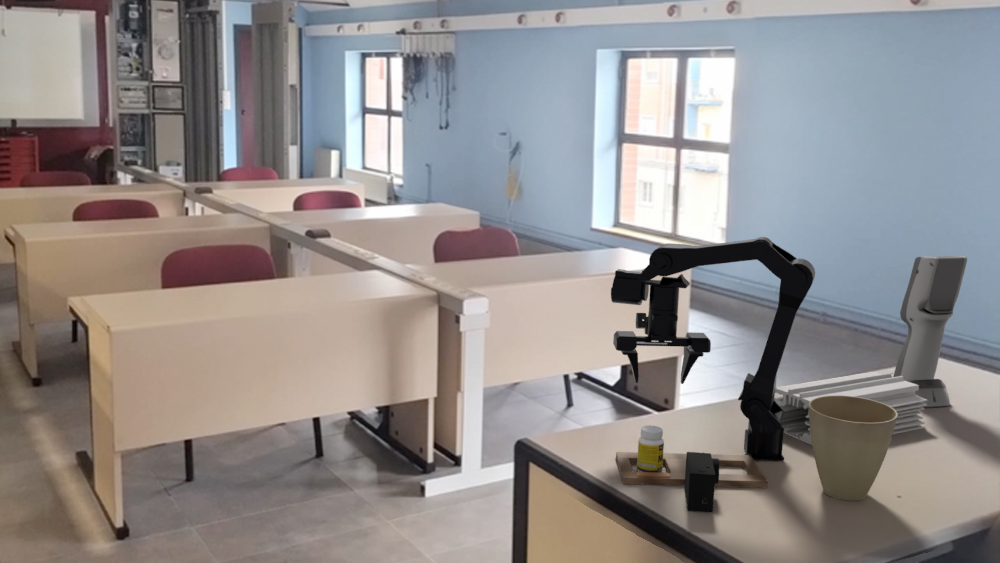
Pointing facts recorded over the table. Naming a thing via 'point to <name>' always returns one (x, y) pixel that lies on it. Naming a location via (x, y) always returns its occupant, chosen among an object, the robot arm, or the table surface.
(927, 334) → the thermal camera
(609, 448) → the table surface
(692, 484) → the digital camera
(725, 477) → the jack panel
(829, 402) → the plant pot
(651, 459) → the supplement bottle
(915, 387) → the aluminum extrusion profile
